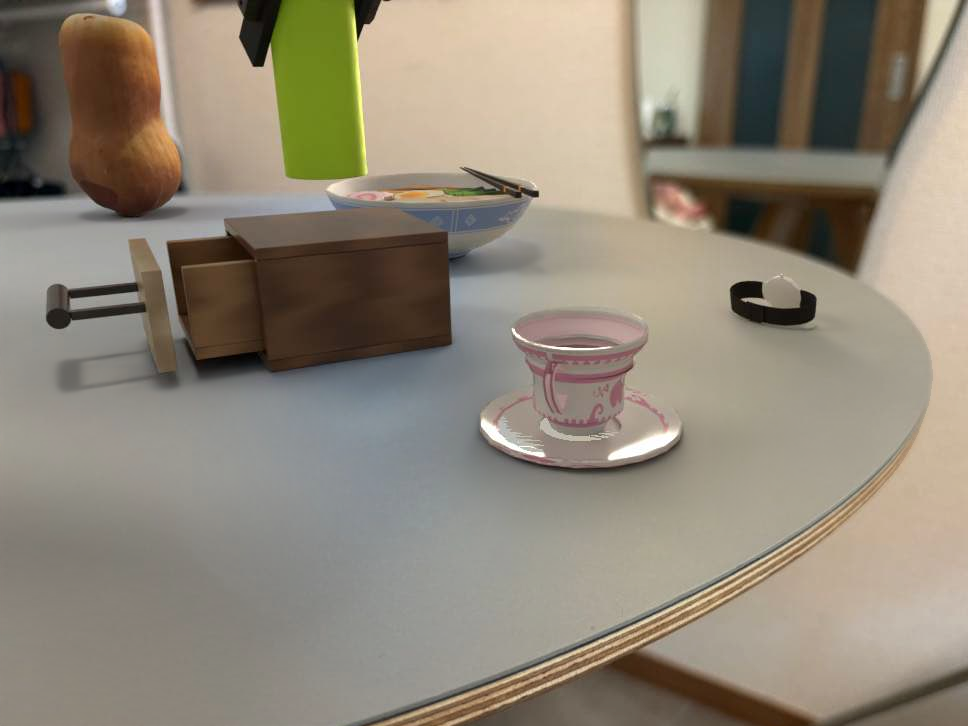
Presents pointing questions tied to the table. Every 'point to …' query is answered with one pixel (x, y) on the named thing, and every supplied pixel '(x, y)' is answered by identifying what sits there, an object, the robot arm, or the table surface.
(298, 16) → the soap dispenser
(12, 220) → the table surface
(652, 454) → the teacup
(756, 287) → the watch
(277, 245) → the cabinet
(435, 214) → the ramen bowl
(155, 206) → the butternut squash
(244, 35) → the robot arm
